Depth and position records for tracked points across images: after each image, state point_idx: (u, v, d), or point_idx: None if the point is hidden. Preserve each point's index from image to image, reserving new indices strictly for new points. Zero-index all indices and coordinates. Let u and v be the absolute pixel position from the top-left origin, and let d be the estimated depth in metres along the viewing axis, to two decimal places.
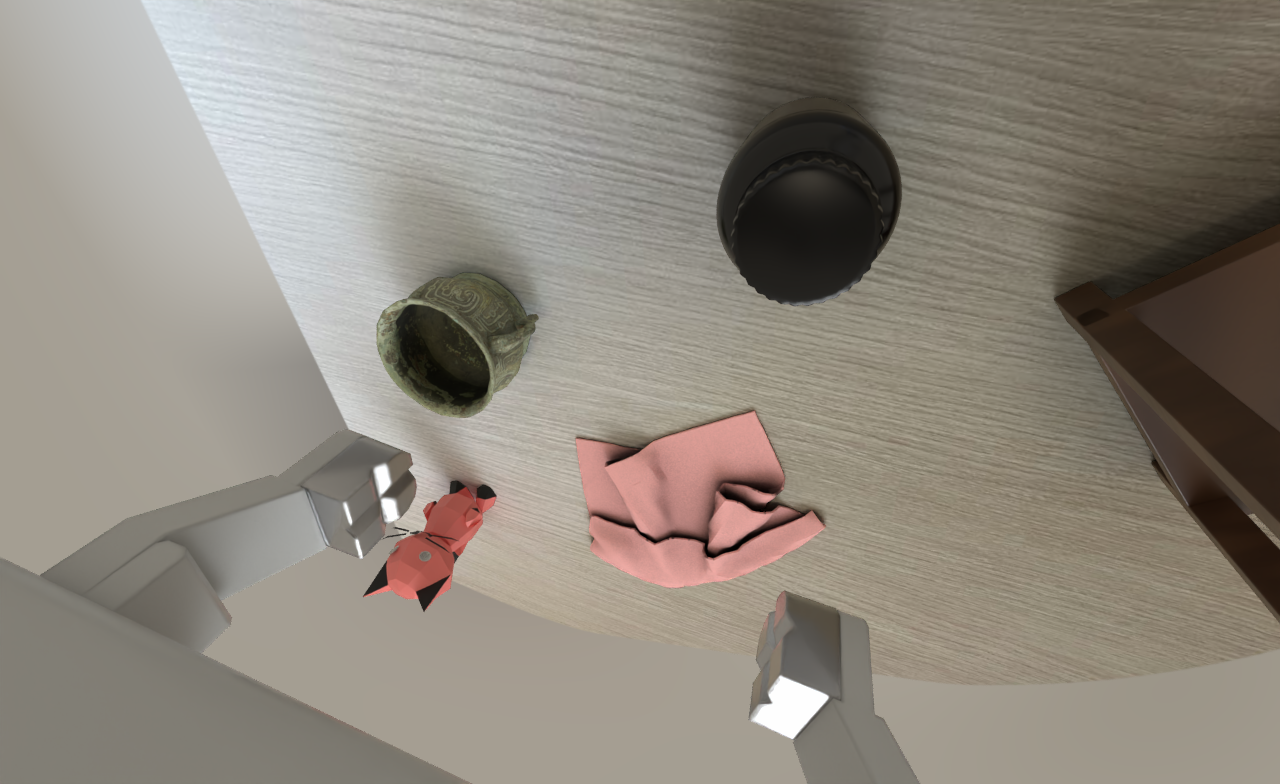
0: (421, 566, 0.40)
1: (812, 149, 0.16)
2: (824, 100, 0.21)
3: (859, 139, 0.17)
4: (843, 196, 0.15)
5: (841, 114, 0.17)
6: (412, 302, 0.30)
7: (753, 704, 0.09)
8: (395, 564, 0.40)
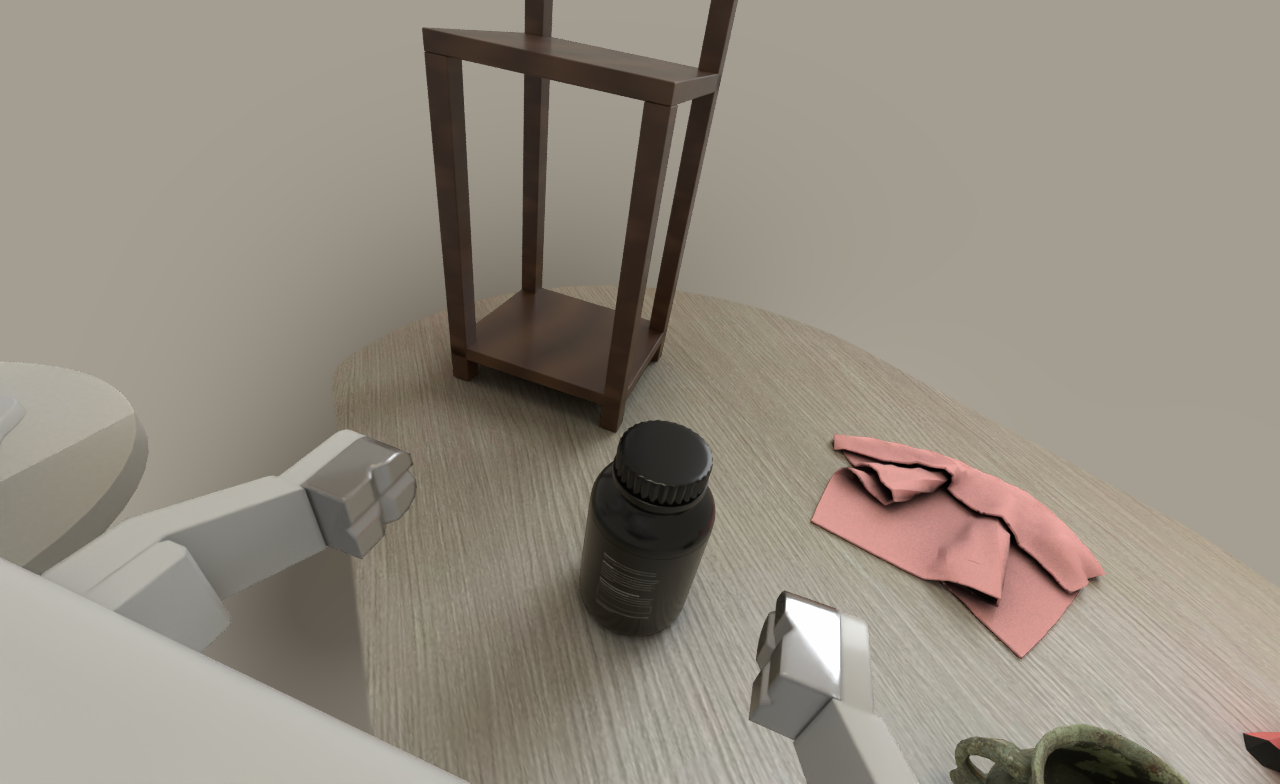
0: None
1: (619, 485, 0.24)
2: (585, 572, 0.28)
3: (600, 486, 0.26)
4: (633, 444, 0.24)
5: (592, 508, 0.26)
6: None
7: (753, 704, 0.09)
8: None
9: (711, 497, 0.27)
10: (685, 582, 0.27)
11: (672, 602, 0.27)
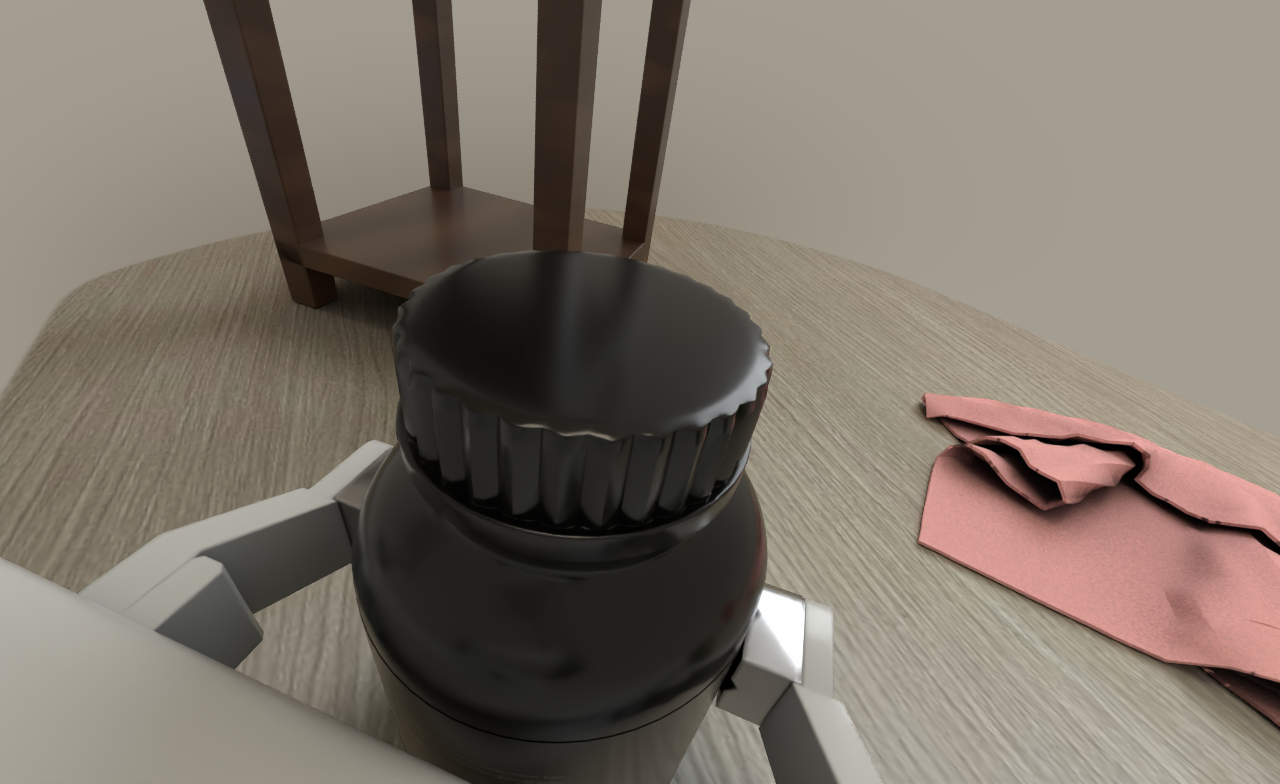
0: None
1: (402, 446, 0.06)
2: None
3: (389, 461, 0.08)
4: (466, 293, 0.06)
5: (354, 536, 0.07)
6: None
7: (720, 690, 0.09)
8: None
9: (753, 495, 0.08)
10: (675, 758, 0.09)
11: None
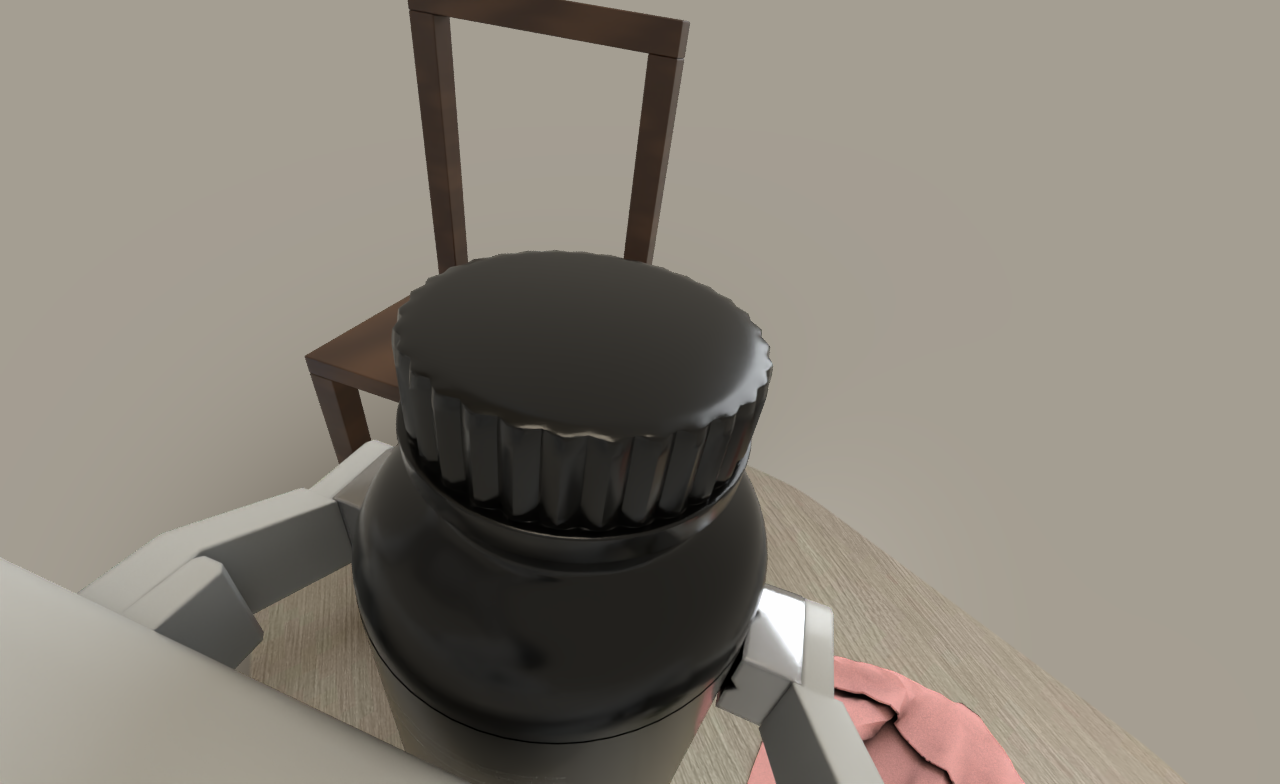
0: None
1: (402, 448, 0.06)
2: None
3: (389, 462, 0.08)
4: (466, 294, 0.06)
5: (354, 537, 0.07)
6: None
7: (720, 690, 0.09)
8: None
9: (754, 496, 0.08)
10: (675, 759, 0.09)
11: None
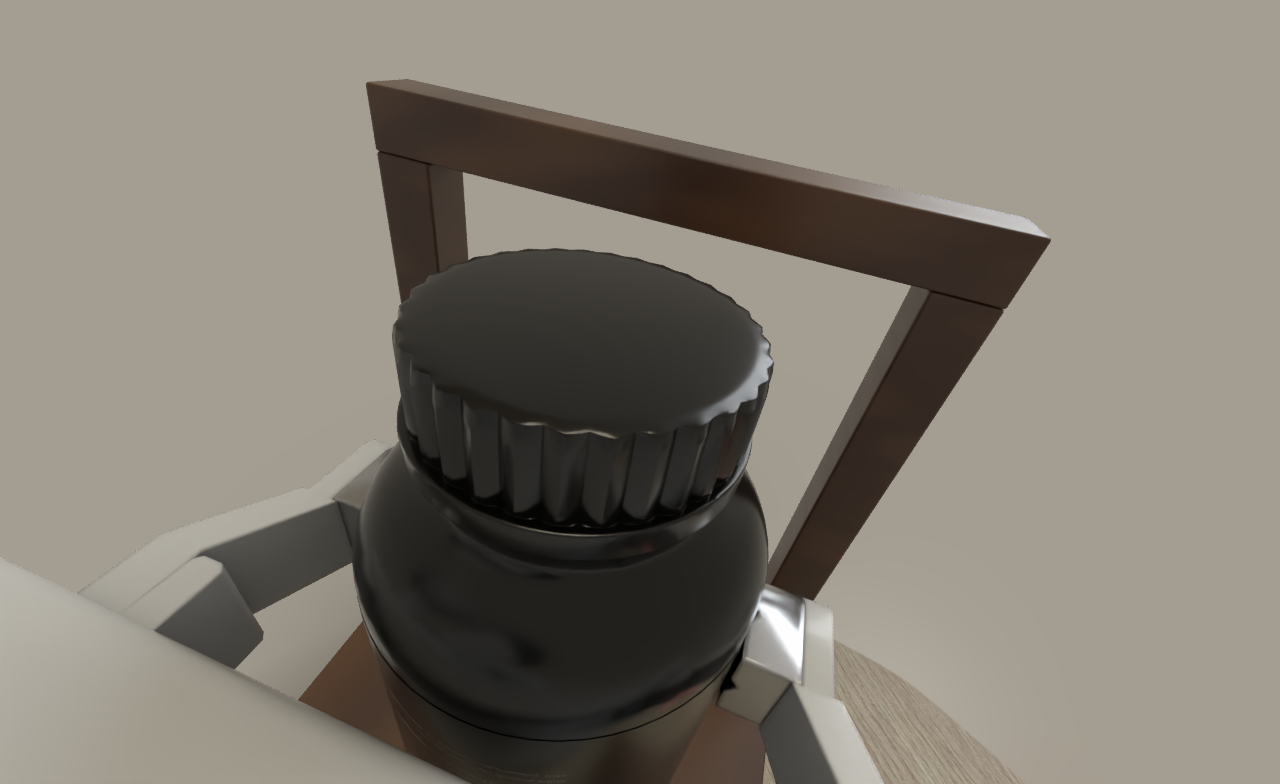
0: None
1: (403, 445, 0.06)
2: None
3: (390, 460, 0.08)
4: (466, 292, 0.06)
5: None
6: None
7: (720, 690, 0.09)
8: None
9: (754, 494, 0.08)
10: (675, 757, 0.09)
11: None
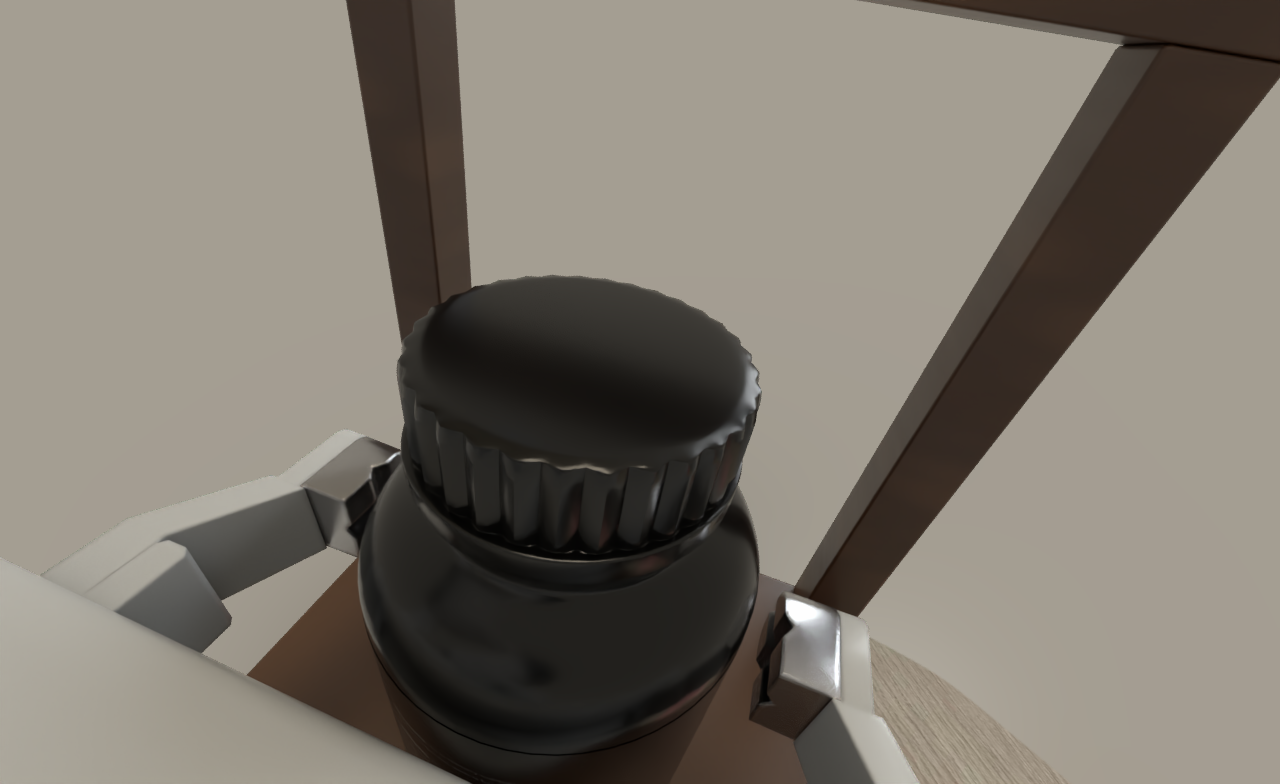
0: None
1: (407, 473, 0.06)
2: None
3: (393, 481, 0.08)
4: (467, 324, 0.07)
5: (359, 555, 0.08)
6: None
7: (753, 704, 0.09)
8: None
9: (746, 511, 0.09)
10: (671, 766, 0.09)
11: None
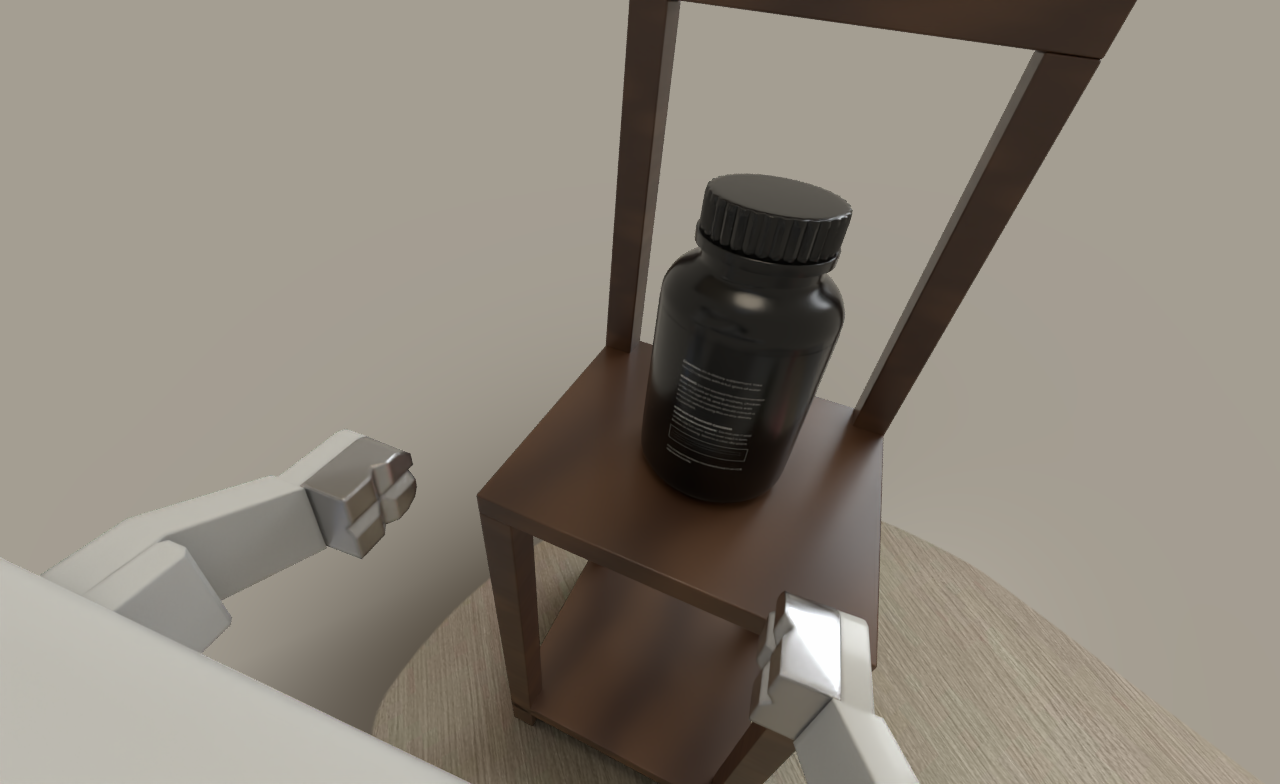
0: None
1: (709, 242, 0.16)
2: (652, 412, 0.20)
3: (676, 268, 0.18)
4: (728, 186, 0.16)
5: (665, 297, 0.18)
6: None
7: (753, 704, 0.09)
8: None
9: None
10: (797, 415, 0.19)
11: (776, 447, 0.19)
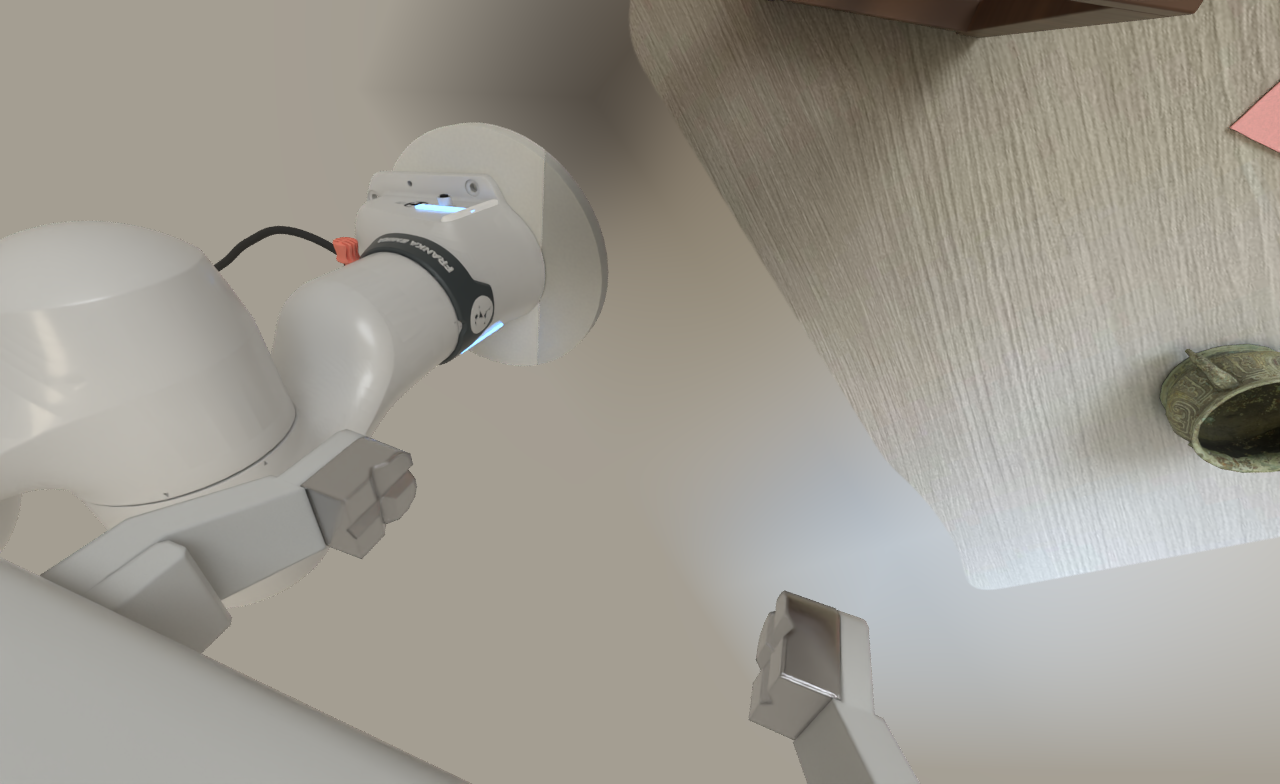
0: None
1: None
2: None
3: None
4: None
5: None
6: (1198, 449, 0.38)
7: (753, 704, 0.09)
8: None
9: None
10: None
11: None
